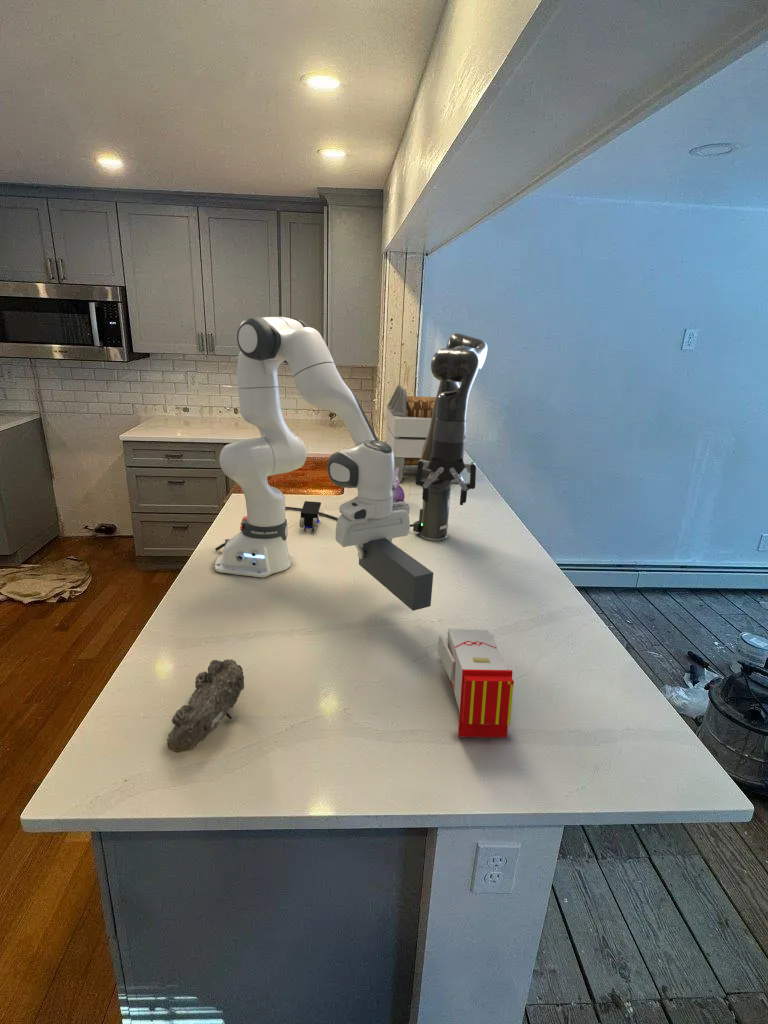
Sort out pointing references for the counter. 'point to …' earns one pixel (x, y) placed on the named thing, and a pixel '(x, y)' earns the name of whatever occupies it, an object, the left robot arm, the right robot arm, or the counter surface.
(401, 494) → the figurine
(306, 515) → the figurine character
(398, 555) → the bar
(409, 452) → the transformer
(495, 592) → the counter surface
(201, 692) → the fossil
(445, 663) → the toy
